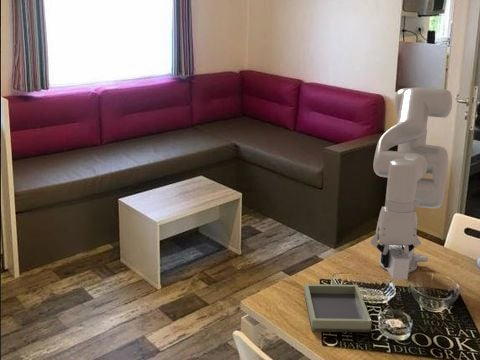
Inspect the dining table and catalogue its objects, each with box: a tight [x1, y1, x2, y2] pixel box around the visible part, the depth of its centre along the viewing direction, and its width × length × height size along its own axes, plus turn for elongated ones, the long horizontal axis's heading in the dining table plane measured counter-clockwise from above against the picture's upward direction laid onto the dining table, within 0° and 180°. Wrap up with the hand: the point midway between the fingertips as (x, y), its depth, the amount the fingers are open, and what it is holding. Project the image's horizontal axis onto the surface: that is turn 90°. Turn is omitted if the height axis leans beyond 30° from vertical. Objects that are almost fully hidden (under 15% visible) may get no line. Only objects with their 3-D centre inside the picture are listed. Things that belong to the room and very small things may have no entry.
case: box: [303, 283, 372, 333], centre depth 165 cm, size 16×20×4 cm
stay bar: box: [379, 243, 410, 280], centre depth 159 cm, size 4×14×6 cm, turn 1°
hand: (392, 265), depth 160 cm, fingers closed on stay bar, 4 cm apart
